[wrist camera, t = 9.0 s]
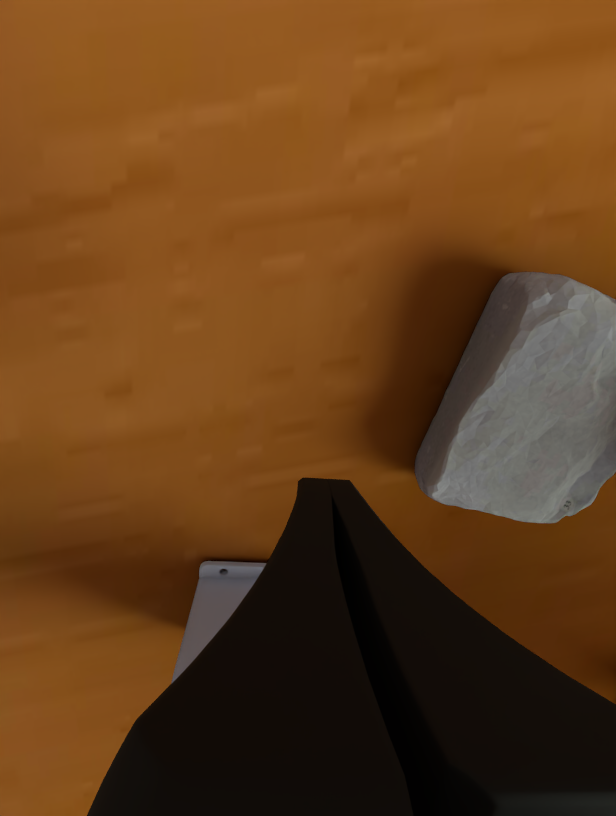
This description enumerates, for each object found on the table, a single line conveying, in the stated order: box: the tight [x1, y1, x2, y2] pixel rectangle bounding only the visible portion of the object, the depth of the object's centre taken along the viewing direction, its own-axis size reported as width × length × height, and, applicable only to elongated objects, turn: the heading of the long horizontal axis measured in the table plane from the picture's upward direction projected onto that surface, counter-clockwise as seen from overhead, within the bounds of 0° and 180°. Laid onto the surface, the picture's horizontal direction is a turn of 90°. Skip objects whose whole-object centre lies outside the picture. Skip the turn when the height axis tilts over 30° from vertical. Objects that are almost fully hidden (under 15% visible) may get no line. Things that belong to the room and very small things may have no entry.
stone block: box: [415, 272, 616, 523], centre depth 19 cm, size 12×5×10 cm
